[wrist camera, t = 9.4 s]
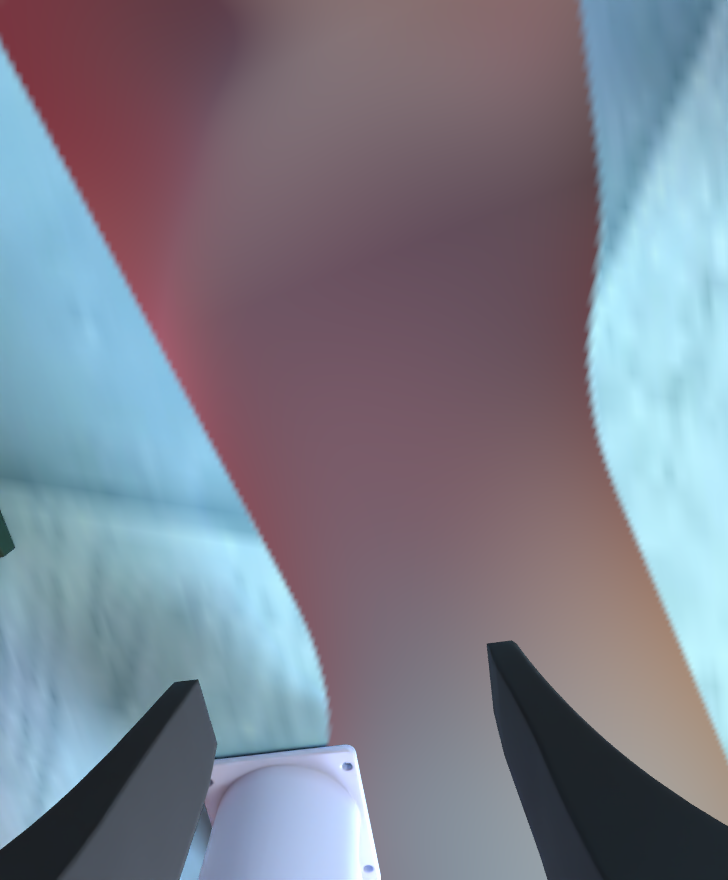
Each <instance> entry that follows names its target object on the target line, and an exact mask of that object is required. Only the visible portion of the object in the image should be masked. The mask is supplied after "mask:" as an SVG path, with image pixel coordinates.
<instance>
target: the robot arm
mask: <svg viewBox="0 0 728 880" xmlns="http://www.w3.org/2000/svg"><path fill="white" fill-rule="evenodd" d="M487 651H488V661H489V670H490V680H491V690H492V700H493V709H494V715H495V718H496V723H497V727H498V731H499V735H500V739H501V743H502V747H503V751H504V755H505V758H506V761H507V764H508V767H509V769H510V772H511V775H512V778H513V781H514V783H515V786H516V789H517V792H518V795H519V797H520V800H521V803H522V806H523V809H524V812H525V814H526V817H527V820H528V823H529V825H530V828H531V831H532V834H533V837H534V839H535V842H536V845H537V848H538V851H539V853H540V857H541V860H542V863H543V866H544V870H545V873H546V876H547V879H548V880H728V826H727V825H725V824H723V823H721V822H720V821H718V820H716V819H715V818H713V817H711V816H710V815H708V814H707V813H705V812H703V811H702V810H700V809H699V808H697V807H695V806H694V805H692V804H690V803H689V802H688V801H686V800H685V799H683V798H682V797H680V796H679V795H677V794H676V793H674V792H673V791H671V790H670V789H668V788H667V787H666V786H664V785H663V784H661V783H660V782H658V781H657V780H655V779H654V778H653V777H651V776H650V775H649V774H647V773H646V772H645V771H643V770H642V769H640V768H639V767H638V766H637V765H636V764H634V763H633V762H632V761H630V760H629V759H628V758H627V757H625V756H624V755H623V754H622V753H621V752H619V751H618V750H617V749H616V748H615V747H613V746H612V745H611V744H610V743H609V742H608V741H606V740H605V739H604V738H603V737H602V736H601V735H600V734H598V733H597V732H596V731H595V730H594V729H593V728H592V727H591V726H590V725H589V724H588V723H587V722H586V721H585V720H584V719H583V718H581V717H580V716H579V715H578V714H577V713H576V712H575V711H574V710H573V709H572V708H571V707H570V706H569V705H568V704H567V703H566V702H565V700H564V699H563V698H562V697H561V696H560V695H559V694H558V693H557V692H556V691H555V690H554V689H553V688H552V687H551V686H550V684H549V683H548V682H547V681H546V680H545V679H544V678H543V677H542V675H541V674H540V673H539V672H538V671H537V669H536V668H535V667H534V666H533V665H532V663H531V662H530V661H529V660H528V658H527V657H526V656H525V655H524V653H523V652H522V651H521V649H520V648H519V647H518V645H517V644H516V643H515V642H513V641H505V642H496V643H488V644H487ZM216 748H217V741H216V738H215V734H214V731H213V728H212V724H211V721H210V717H209V714H208V711H207V707H206V704H205V701H204V697H203V694H202V690H201V687H200V684H199V680H198V679H197V680H189V681H181V682H174V683H173V684H172V686H171V687H170V688H169V689H168V690H167V691H166V692H165V693H164V694H163V695H162V696H161V697H160V698H159V699H158V700H157V701H156V703H155V704H154V705H153V706H152V707H151V708H150V709H149V710H148V711H147V712H146V714H145V715H144V716H143V717H142V718H141V719H140V720H139V721H138V722H137V723H136V725H135V726H134V727H133V728H132V729H131V730H130V731H129V732H128V733H127V734H126V735H125V736H124V737H123V738H122V740H121V741H120V742H119V743H118V744H117V745H116V746H115V747H114V748H113V749H112V750H111V751H110V752H109V753H108V754H107V755H106V756H105V757H104V758H103V759H102V760H101V761H100V762H99V763H98V764H97V765H96V766H95V767H94V768H93V769H92V770H91V771H90V772H89V773H88V774H87V775H86V776H85V777H84V778H83V779H82V780H81V781H80V782H79V783H78V784H77V785H76V786H75V787H74V788H73V789H72V790H71V791H70V792H69V793H68V794H66V795H65V796H64V797H63V798H62V799H61V800H60V801H59V802H58V803H57V804H55V805H54V806H53V807H52V808H51V809H50V810H49V811H47V812H46V813H45V814H44V815H43V816H42V817H40V818H39V819H38V820H37V821H36V822H35V823H34V824H32V825H31V826H30V827H29V828H27V829H26V830H25V831H24V832H22V833H21V834H20V835H19V836H17V837H16V838H15V839H14V840H12V841H11V842H10V843H8V844H7V845H6V846H5V847H3V848H2V849H1V850H0V880H179V879H180V876H181V873H182V870H183V867H184V864H185V861H186V858H187V855H188V852H189V849H190V845H191V842H192V839H193V836H194V833H195V830H196V827H197V824H198V821H199V817H200V814H201V811H202V808H203V805H204V803H205V806H206V809H207V812H208V816H209V819H210V822H211V825H212V831H211V835H210V839H209V842H208V846H207V849H206V853H205V857H204V860H203V864H202V867H201V871H200V875H199V878H198V880H380V870H379V865H378V860H377V855H376V851H375V845H374V840H373V835H372V831H371V825H370V820H369V815H368V811H367V805H366V801H365V796H364V791H363V786H362V781H361V776H360V771H359V766H358V761H357V756H356V751H355V749H354V748H353V747H352V746H350V745H337V746H328V747H319V748H310V749H302V750H293V751H285V752H276V753H267V754H259V755H250V756H241V757H233V758H224V759H215V753H216ZM214 759H215V760H214ZM346 762H348V763H349V764H345V763H346Z"/></svg>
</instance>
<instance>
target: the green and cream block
mask: <svg viewBox="0 0 728 880" xmlns="http://www.w3.org/2000/svg"><path fill="white" fill-rule="evenodd" d="M14 548H15V546H14V544H13V541H12V539H11V536H10V534H9V531H8V529H7V526H6V524H5V521H4V519H3V516H2V514H1V511H0V557H4V556H6V555H7V554H8V553H9V552H11V551H12V550H13V549H14Z"/></svg>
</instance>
